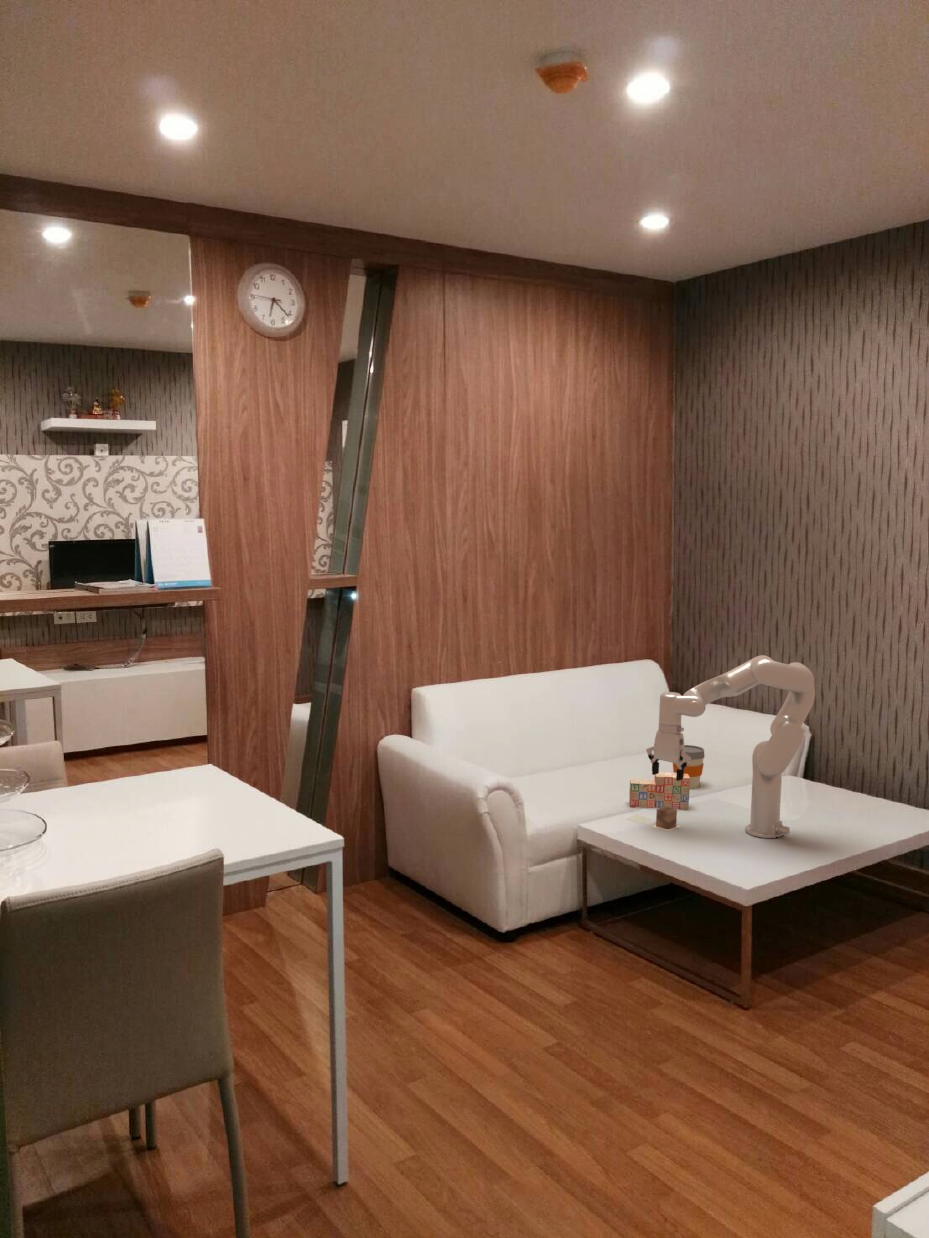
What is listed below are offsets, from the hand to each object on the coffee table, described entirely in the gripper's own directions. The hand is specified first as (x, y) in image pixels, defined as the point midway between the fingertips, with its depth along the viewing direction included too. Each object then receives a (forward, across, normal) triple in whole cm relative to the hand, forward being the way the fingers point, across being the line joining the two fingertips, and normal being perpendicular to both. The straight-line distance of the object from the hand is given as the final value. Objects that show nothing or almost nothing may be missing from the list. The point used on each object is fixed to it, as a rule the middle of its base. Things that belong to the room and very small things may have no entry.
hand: (667, 776), depth 348 cm
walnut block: (+18, 0, 0) cm, 18 cm away
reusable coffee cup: (+18, +22, -50) cm, 58 cm away
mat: (+18, +5, 0) cm, 19 cm away
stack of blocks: (+18, +15, -19) cm, 30 cm away
